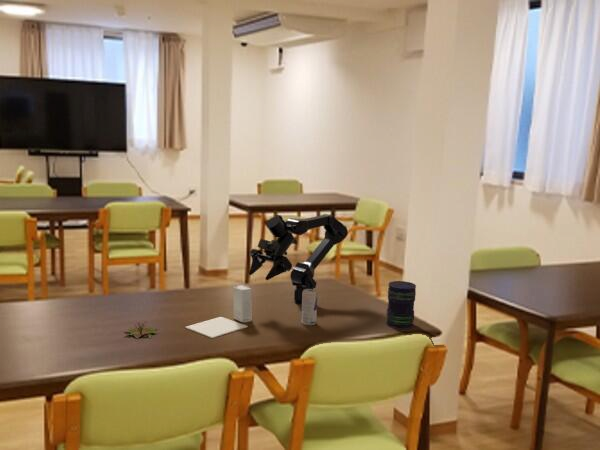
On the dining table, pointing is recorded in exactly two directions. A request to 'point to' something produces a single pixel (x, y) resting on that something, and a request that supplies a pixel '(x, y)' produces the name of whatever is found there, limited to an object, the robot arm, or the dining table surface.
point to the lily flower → (140, 329)
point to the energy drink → (309, 307)
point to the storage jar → (401, 304)
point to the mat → (216, 327)
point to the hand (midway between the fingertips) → (257, 277)
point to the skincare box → (242, 303)
